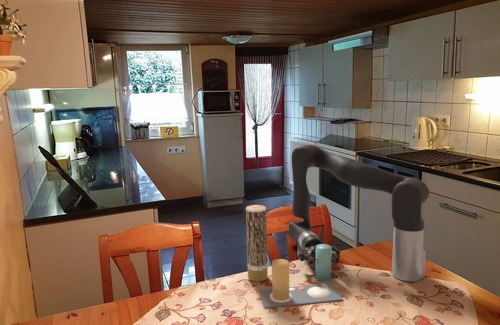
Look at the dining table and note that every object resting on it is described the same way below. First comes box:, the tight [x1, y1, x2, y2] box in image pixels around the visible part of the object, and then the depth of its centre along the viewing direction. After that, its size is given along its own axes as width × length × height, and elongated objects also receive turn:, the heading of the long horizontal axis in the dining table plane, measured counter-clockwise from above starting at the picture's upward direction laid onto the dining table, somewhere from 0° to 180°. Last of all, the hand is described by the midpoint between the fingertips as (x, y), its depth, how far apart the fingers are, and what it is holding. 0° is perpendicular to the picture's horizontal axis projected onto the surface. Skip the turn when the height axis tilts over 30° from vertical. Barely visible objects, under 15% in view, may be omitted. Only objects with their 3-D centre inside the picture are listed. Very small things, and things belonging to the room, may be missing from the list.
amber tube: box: [271, 258, 290, 301], centre depth 111 cm, size 5×5×11 cm
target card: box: [258, 282, 344, 309], centre depth 112 cm, size 24×10×1 cm, turn 98°
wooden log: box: [245, 204, 269, 283], centre depth 123 cm, size 7×7×25 cm
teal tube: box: [315, 243, 332, 282], centre depth 123 cm, size 5×5×11 cm
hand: (325, 261), depth 121 cm, fingers open, 8 cm apart
